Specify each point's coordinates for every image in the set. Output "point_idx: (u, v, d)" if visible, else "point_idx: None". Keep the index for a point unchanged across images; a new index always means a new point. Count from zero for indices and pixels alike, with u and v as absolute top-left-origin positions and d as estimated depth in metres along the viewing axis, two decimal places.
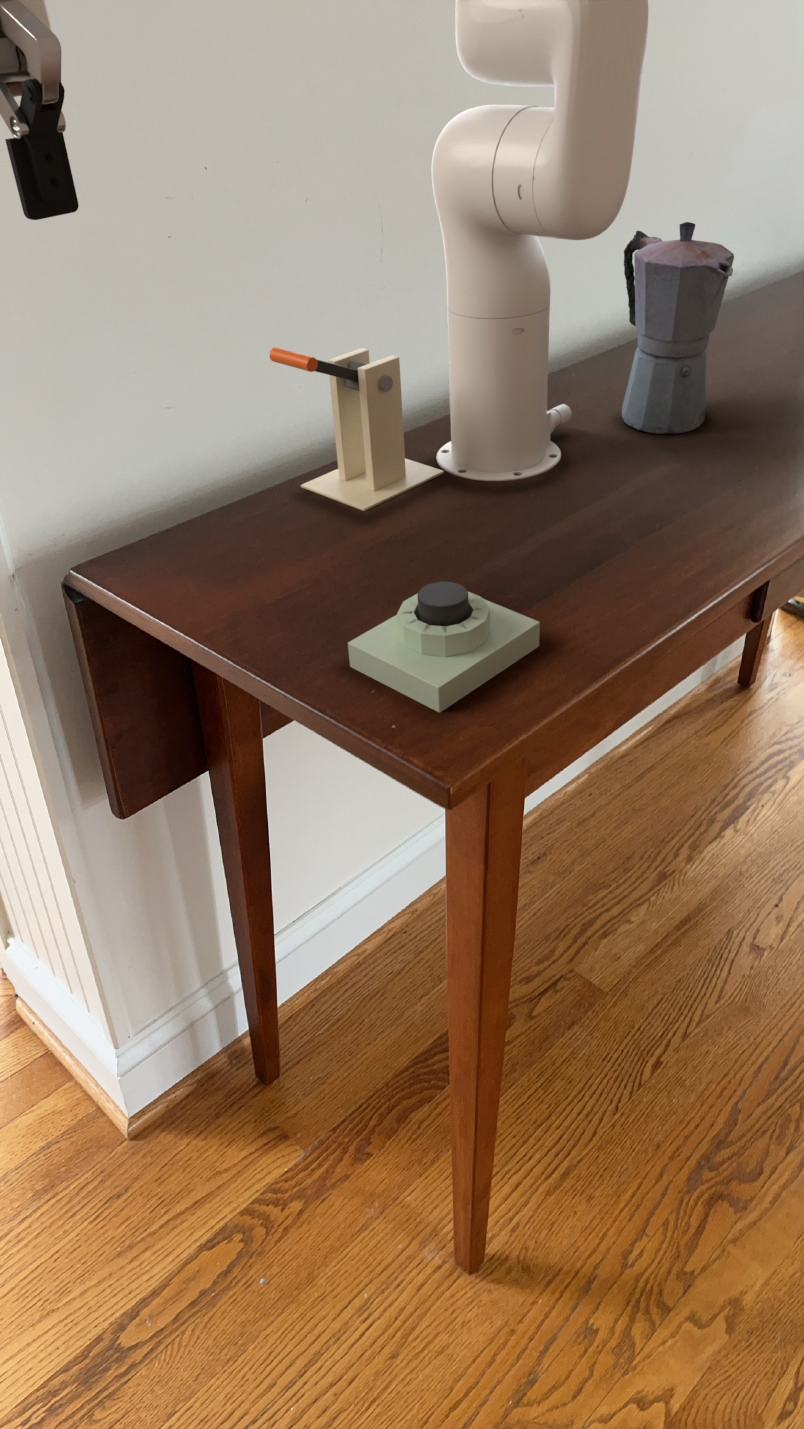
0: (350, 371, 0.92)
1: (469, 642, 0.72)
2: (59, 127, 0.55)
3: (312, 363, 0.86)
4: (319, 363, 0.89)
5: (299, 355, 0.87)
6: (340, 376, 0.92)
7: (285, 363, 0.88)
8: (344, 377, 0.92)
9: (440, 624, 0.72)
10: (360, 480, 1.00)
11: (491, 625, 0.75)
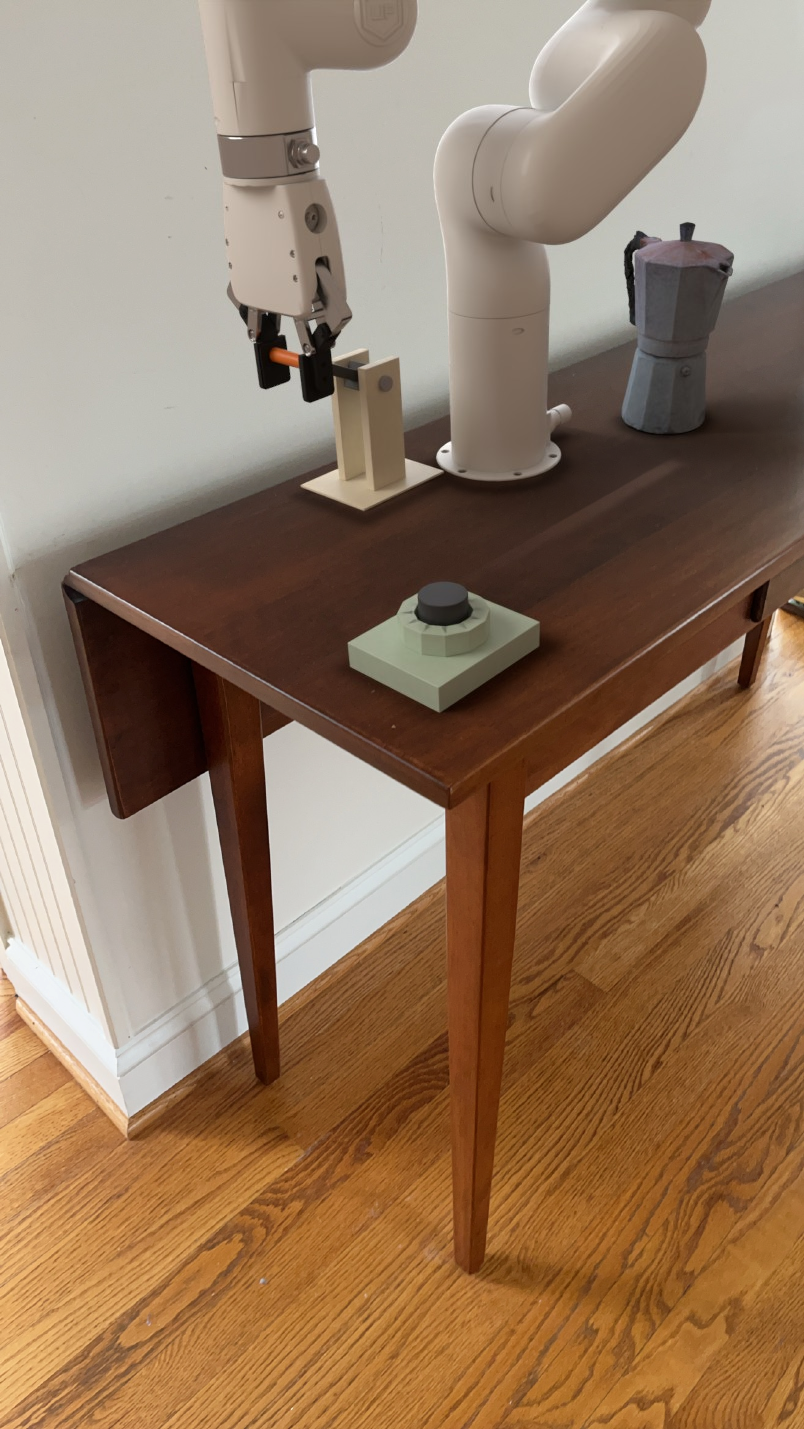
0: (350, 371, 0.92)
1: (469, 642, 0.72)
2: (330, 348, 0.85)
3: None
4: None
5: None
6: (340, 376, 0.92)
7: (285, 363, 0.88)
8: (344, 377, 0.92)
9: (440, 624, 0.72)
10: (360, 480, 1.00)
11: (491, 625, 0.75)
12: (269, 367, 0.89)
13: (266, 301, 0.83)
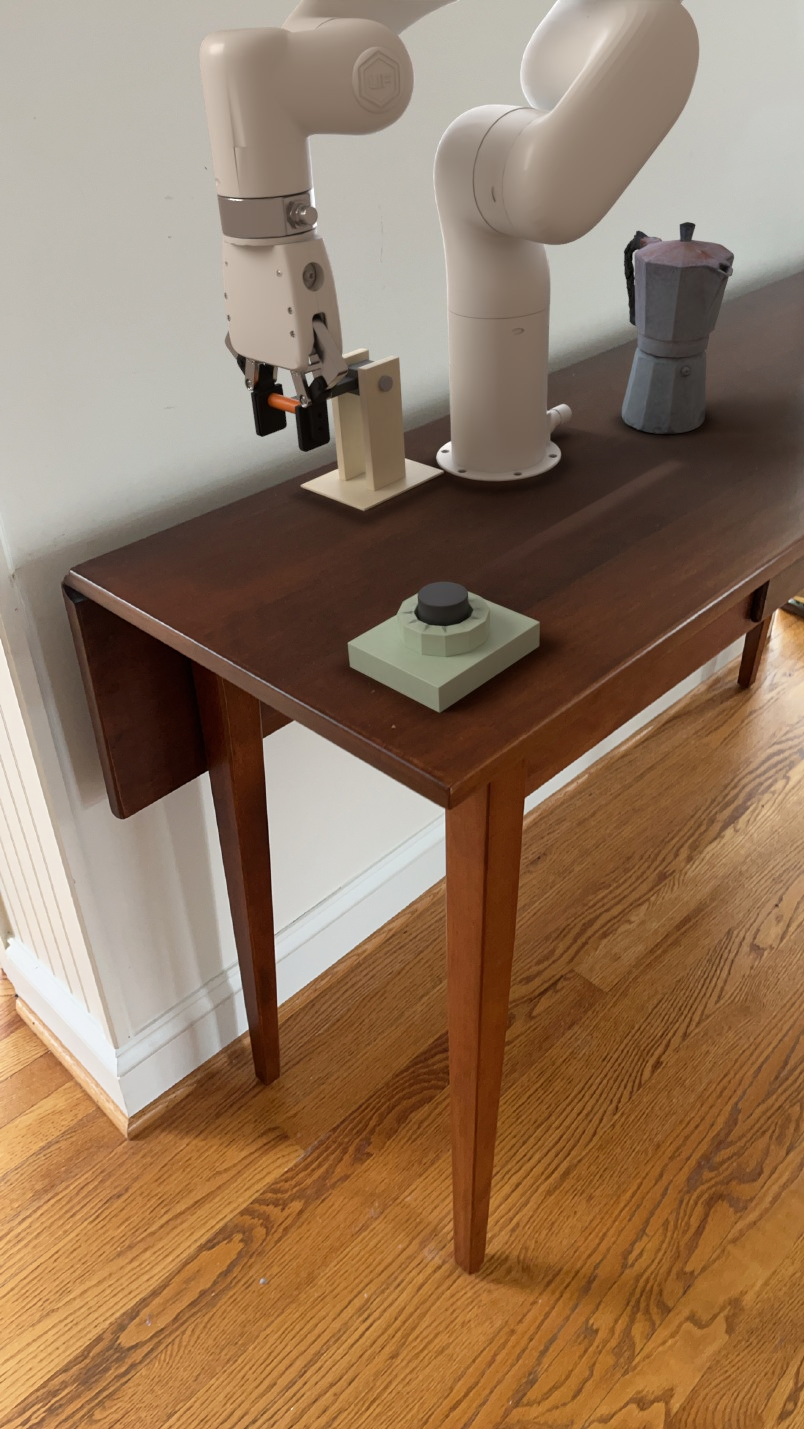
0: (348, 383, 0.93)
1: (469, 642, 0.72)
2: (326, 399, 0.87)
3: None
4: None
5: (295, 404, 0.88)
6: (340, 394, 0.92)
7: (285, 410, 0.90)
8: (344, 392, 0.93)
9: (440, 624, 0.72)
10: (360, 480, 1.00)
11: (491, 625, 0.75)
12: (266, 415, 0.91)
13: (264, 354, 0.85)
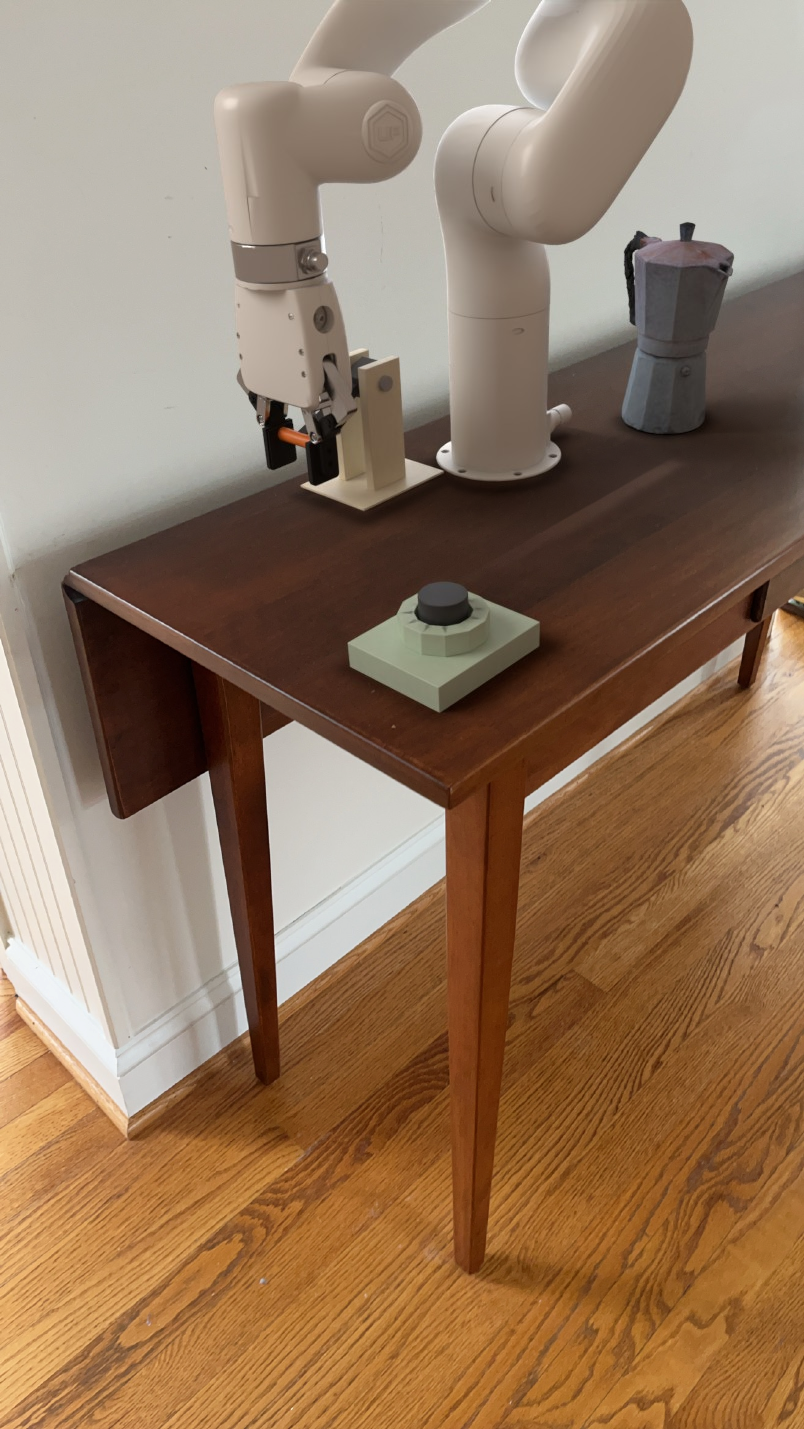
0: None
1: (469, 642, 0.72)
2: (336, 435, 0.89)
3: None
4: None
5: (303, 440, 0.91)
6: None
7: None
8: None
9: (440, 624, 0.72)
10: (360, 480, 1.00)
11: (491, 625, 0.75)
12: (277, 449, 0.94)
13: (275, 392, 0.88)
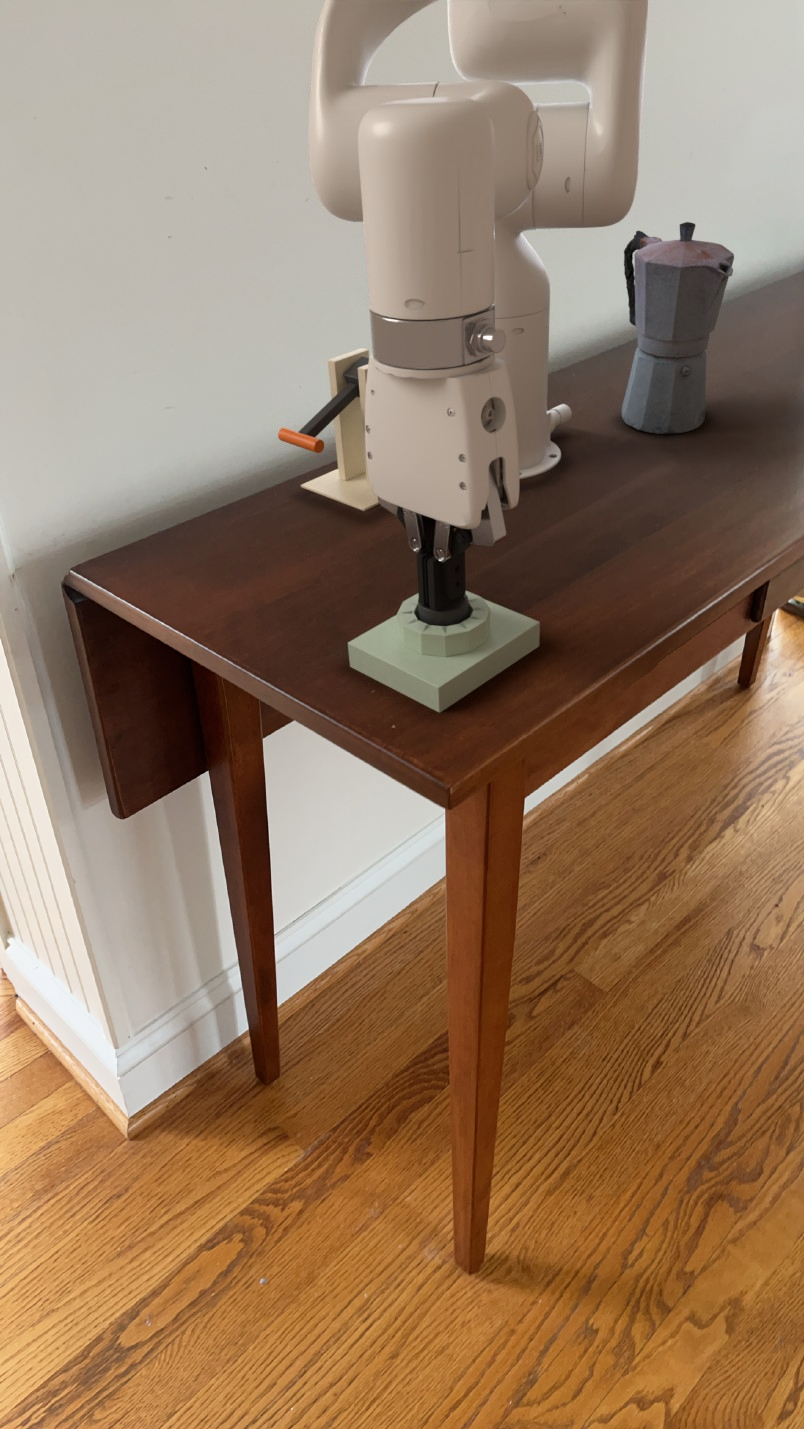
0: (350, 394, 0.93)
1: (469, 642, 0.72)
2: (464, 550, 0.70)
3: (318, 445, 0.90)
4: (322, 421, 0.92)
5: (304, 441, 0.91)
6: (345, 407, 0.93)
7: (296, 445, 0.92)
8: (348, 403, 0.94)
9: None
10: (360, 480, 1.00)
11: (491, 625, 0.75)
12: None
13: (418, 503, 0.67)
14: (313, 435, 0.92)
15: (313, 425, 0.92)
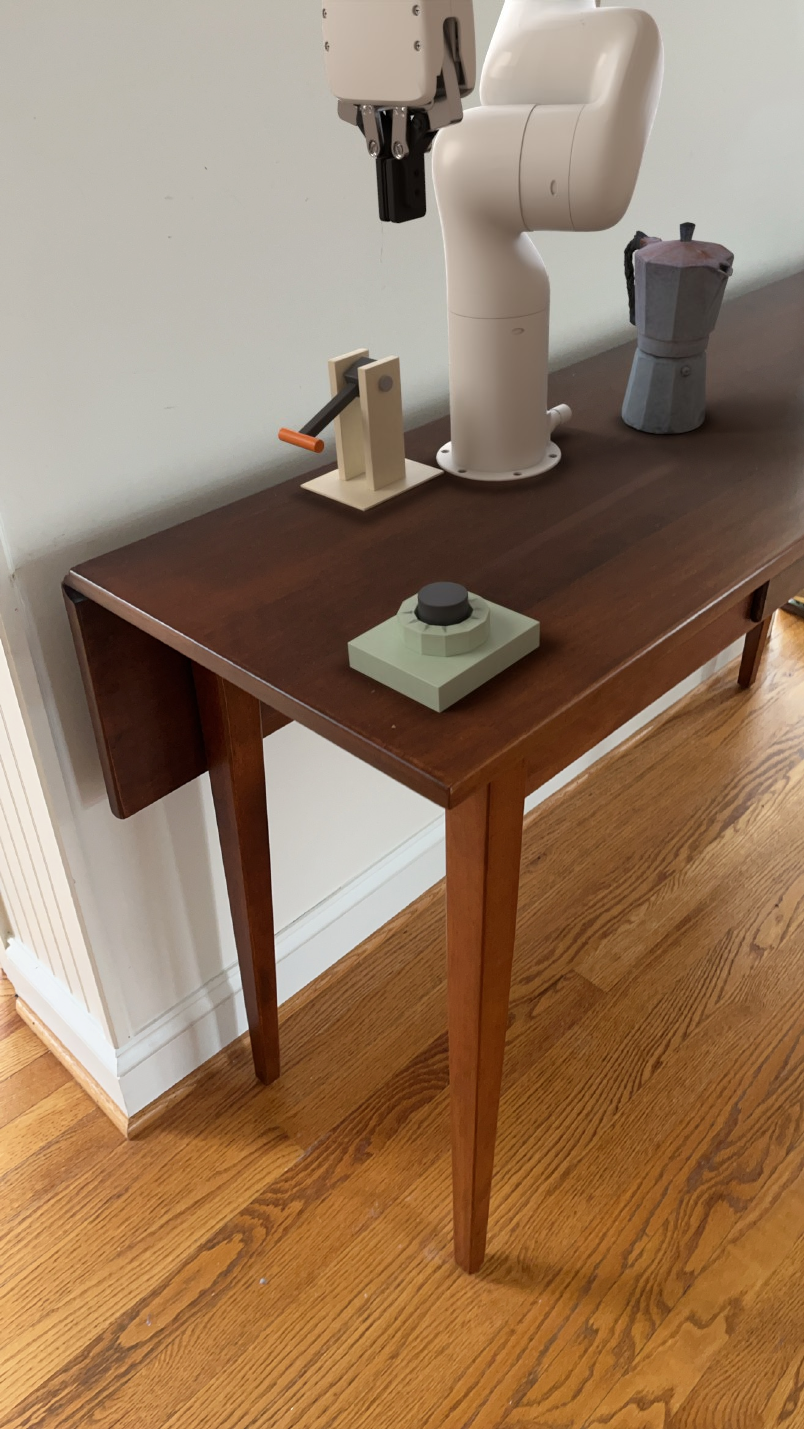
0: (350, 394, 0.93)
1: (469, 642, 0.72)
2: (423, 154, 0.70)
3: (318, 445, 0.90)
4: (322, 421, 0.92)
5: (304, 441, 0.91)
6: (345, 407, 0.93)
7: (296, 445, 0.92)
8: (348, 403, 0.94)
9: (440, 624, 0.72)
10: (360, 480, 1.00)
11: (491, 625, 0.75)
12: None
13: (374, 87, 0.66)
14: (313, 435, 0.92)
15: (313, 425, 0.92)
